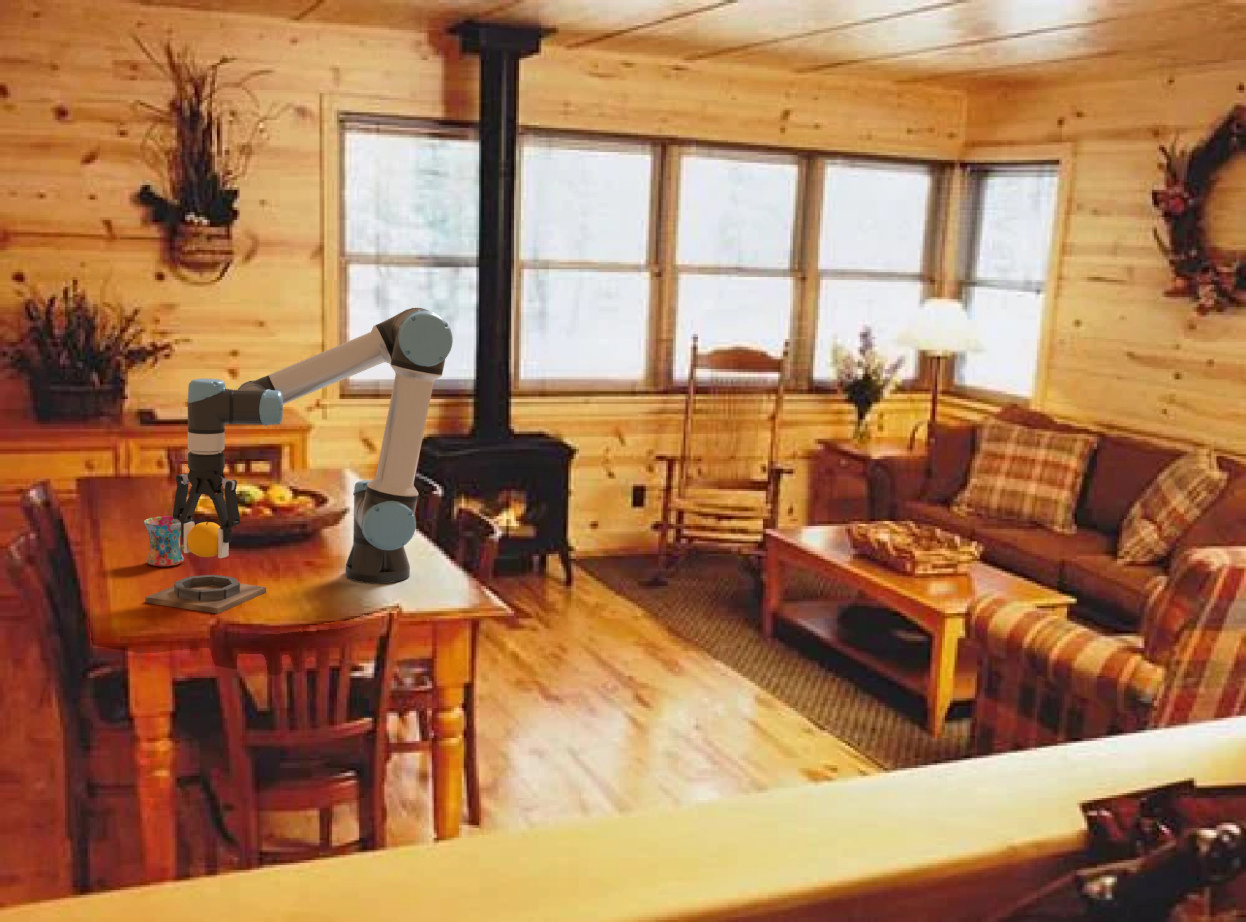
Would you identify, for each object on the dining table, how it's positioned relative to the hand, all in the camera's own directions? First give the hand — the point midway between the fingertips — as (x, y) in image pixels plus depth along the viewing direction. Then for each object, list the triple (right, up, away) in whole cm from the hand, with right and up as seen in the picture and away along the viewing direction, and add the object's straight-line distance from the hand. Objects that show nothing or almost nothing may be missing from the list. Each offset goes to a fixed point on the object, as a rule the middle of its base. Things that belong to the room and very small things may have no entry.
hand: (206, 554), depth 269 cm
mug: (-18, -5, +27) cm, 33 cm away
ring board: (0, -10, +2) cm, 10 cm away
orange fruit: (0, -1, 0) cm, 1 cm away
